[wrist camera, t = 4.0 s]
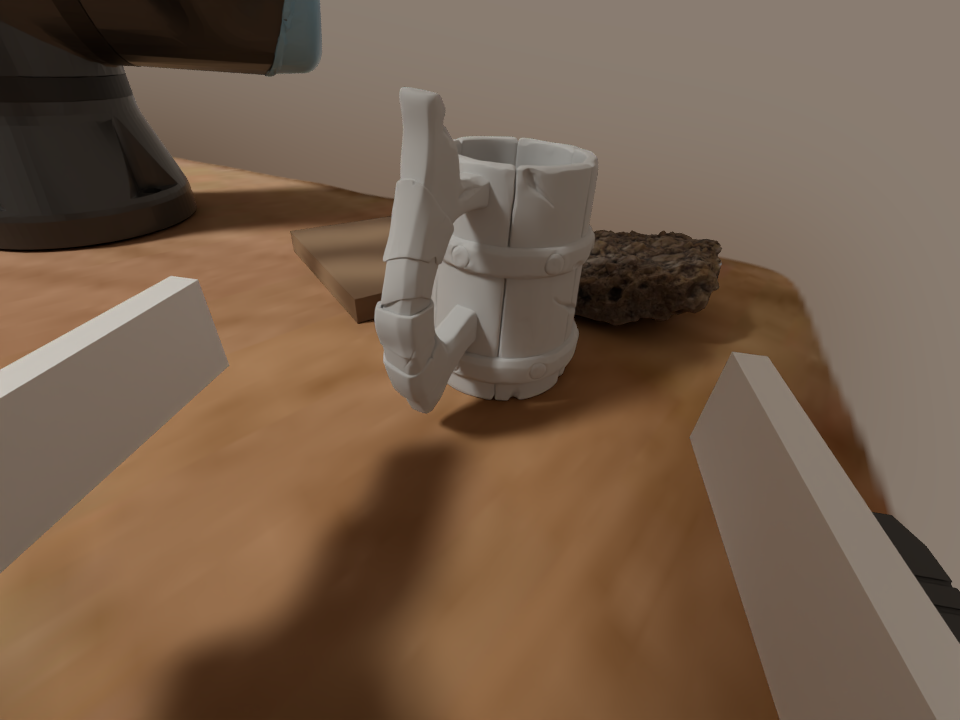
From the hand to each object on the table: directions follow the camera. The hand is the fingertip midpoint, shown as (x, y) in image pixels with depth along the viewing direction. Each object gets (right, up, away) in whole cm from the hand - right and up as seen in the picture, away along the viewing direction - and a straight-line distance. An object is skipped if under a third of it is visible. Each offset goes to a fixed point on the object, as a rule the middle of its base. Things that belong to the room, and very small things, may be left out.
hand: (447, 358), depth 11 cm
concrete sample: (+9, +4, +17) cm, 20 cm away
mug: (+1, -1, +10) cm, 10 cm away
